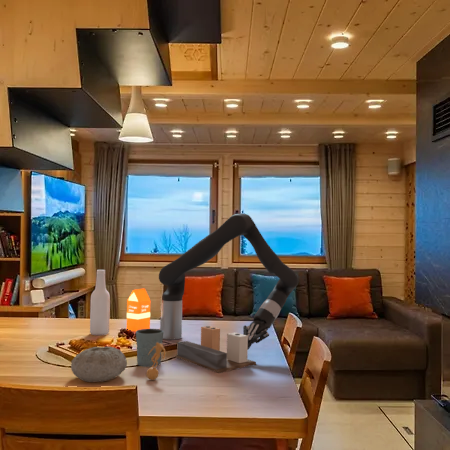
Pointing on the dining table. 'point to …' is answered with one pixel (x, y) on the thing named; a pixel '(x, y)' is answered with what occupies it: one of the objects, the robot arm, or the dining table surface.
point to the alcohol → (100, 307)
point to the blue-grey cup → (148, 346)
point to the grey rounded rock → (98, 364)
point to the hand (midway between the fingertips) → (243, 349)
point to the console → (208, 357)
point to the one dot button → (237, 347)
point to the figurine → (152, 371)
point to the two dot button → (210, 337)
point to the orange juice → (138, 310)
